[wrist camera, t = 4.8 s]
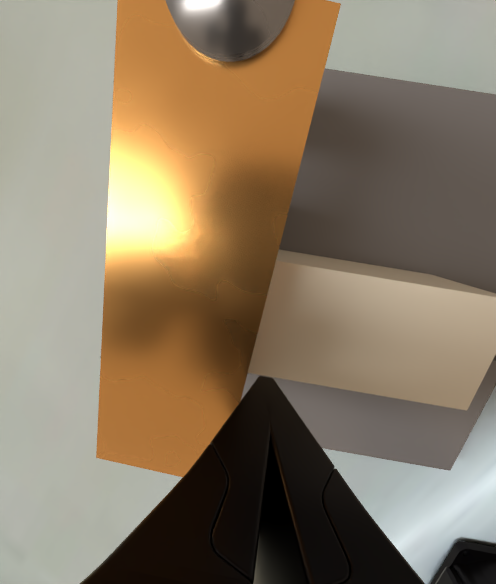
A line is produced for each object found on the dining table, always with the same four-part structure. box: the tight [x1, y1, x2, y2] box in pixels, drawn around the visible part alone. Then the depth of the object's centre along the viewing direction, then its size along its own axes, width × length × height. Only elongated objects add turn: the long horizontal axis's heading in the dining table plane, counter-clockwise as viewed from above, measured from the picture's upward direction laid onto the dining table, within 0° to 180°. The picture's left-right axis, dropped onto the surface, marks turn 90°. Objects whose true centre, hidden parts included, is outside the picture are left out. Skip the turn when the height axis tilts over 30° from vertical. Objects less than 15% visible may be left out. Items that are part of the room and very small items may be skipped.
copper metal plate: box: [96, 0, 341, 477], centre depth 6 cm, size 4×13×2 cm, turn 168°
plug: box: [248, 250, 496, 411], centre depth 10 cm, size 13×4×4 cm, turn 81°
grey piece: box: [241, 69, 496, 470], centre depth 10 cm, size 16×18×5 cm
